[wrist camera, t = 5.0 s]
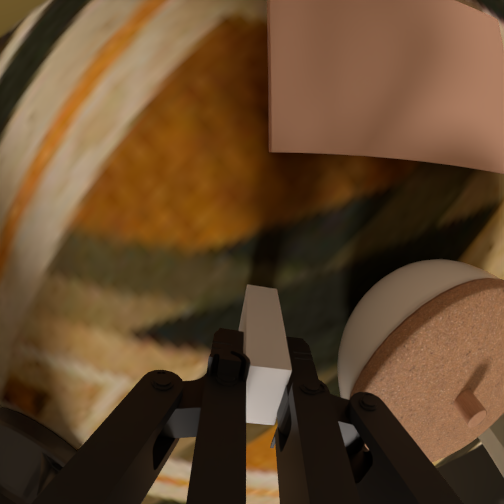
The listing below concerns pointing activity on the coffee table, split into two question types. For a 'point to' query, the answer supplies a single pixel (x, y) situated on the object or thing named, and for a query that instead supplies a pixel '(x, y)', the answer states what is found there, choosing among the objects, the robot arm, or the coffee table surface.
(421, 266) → the lidded jar
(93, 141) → the coffee table surface
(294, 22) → the book
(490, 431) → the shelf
